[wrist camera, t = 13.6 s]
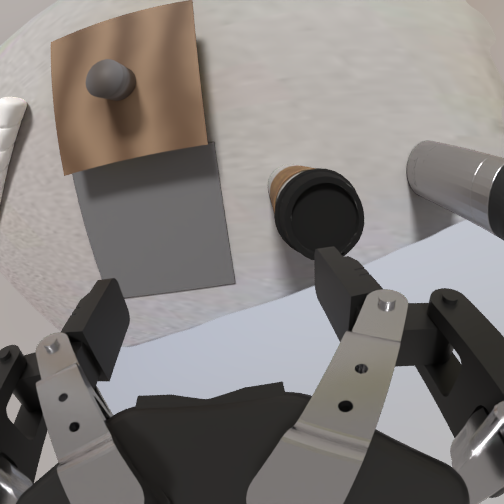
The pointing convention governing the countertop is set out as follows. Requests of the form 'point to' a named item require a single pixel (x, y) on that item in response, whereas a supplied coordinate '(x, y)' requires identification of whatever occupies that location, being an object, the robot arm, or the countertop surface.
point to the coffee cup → (315, 209)
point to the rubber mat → (157, 221)
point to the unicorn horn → (9, 131)
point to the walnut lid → (128, 88)
